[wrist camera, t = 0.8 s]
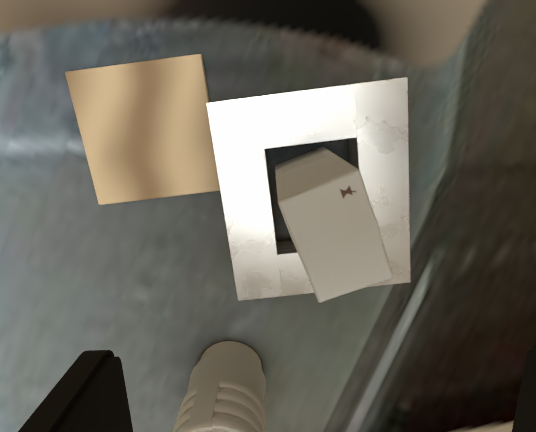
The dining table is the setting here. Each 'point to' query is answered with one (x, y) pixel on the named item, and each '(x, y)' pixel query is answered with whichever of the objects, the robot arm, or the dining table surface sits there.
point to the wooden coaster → (146, 128)
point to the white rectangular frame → (302, 132)
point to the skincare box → (331, 223)
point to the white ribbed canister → (225, 392)
